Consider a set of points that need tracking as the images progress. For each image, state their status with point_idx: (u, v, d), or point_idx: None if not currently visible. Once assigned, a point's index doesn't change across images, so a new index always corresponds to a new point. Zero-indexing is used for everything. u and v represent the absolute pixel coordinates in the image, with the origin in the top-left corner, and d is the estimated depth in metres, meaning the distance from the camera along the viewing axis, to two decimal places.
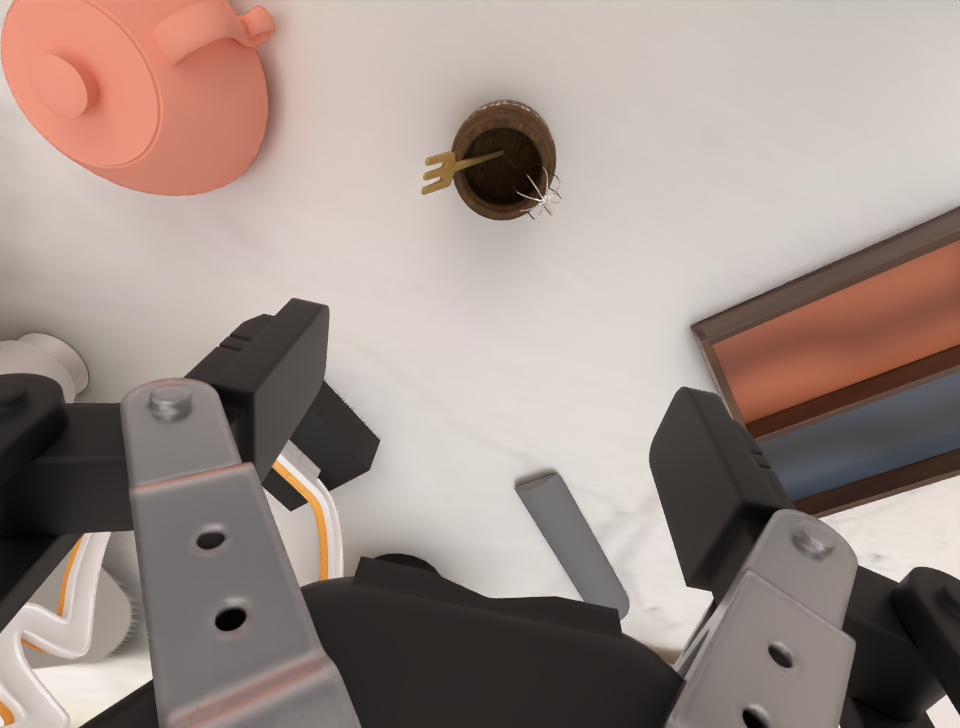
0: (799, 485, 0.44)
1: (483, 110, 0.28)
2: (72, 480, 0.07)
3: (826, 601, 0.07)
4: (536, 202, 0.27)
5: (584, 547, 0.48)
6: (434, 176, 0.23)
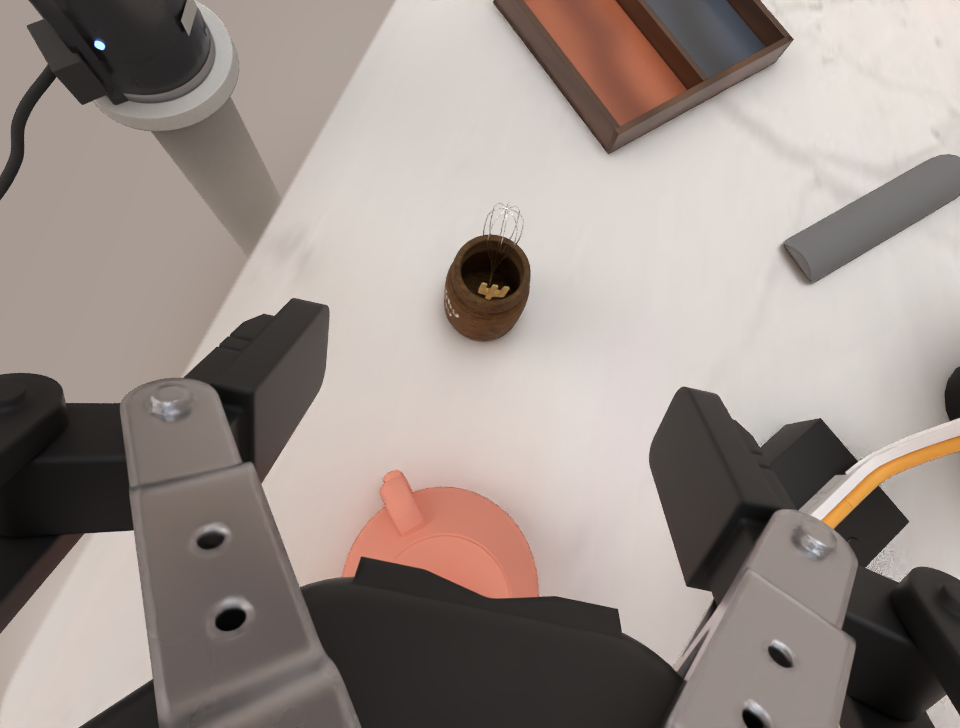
0: (744, 42, 0.48)
1: (450, 298, 0.36)
2: (72, 480, 0.07)
3: (827, 601, 0.07)
4: (513, 243, 0.35)
5: (868, 204, 0.45)
6: None
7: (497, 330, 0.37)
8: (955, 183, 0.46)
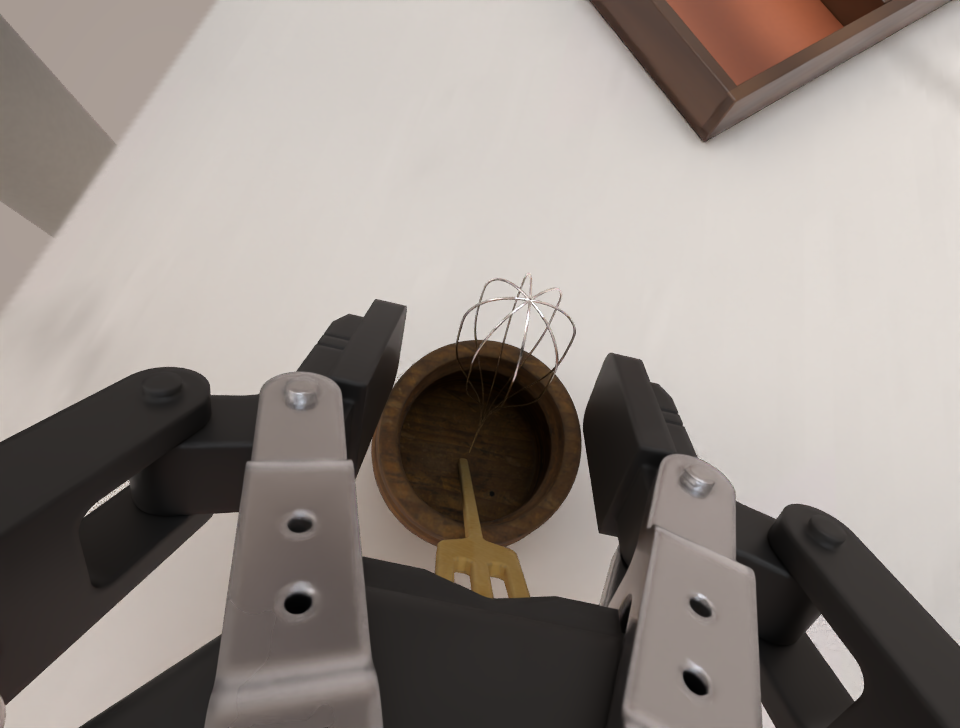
0: None
1: (380, 489, 0.15)
2: (219, 464, 0.08)
3: (720, 535, 0.07)
4: (537, 362, 0.13)
5: None
6: (489, 597, 0.08)
7: None
8: None
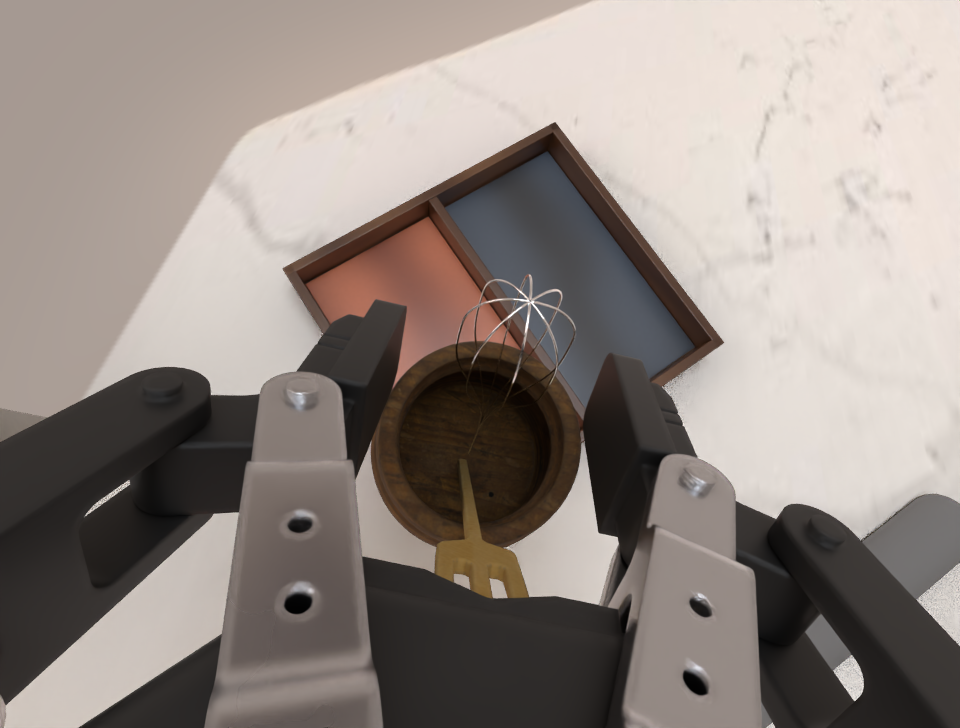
0: (656, 332, 0.34)
1: (379, 489, 0.15)
2: (219, 464, 0.08)
3: (719, 535, 0.07)
4: (537, 363, 0.13)
5: None
6: None
7: None
8: (959, 553, 0.31)
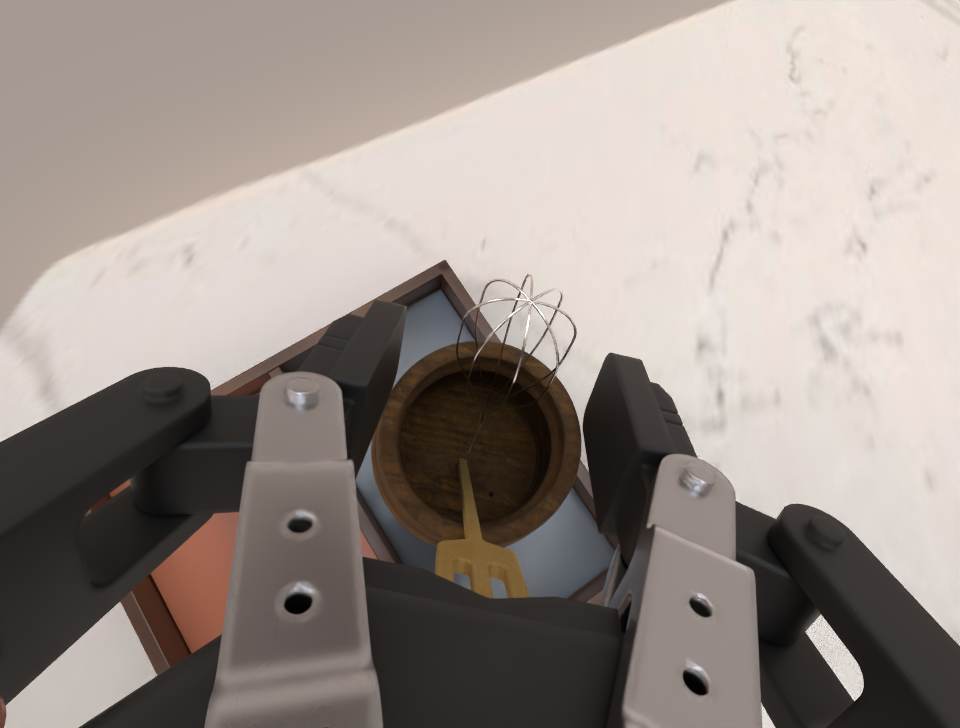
0: (569, 538, 0.26)
1: (379, 489, 0.15)
2: (219, 464, 0.08)
3: (719, 535, 0.07)
4: (537, 363, 0.13)
5: None
6: None
7: None
8: None
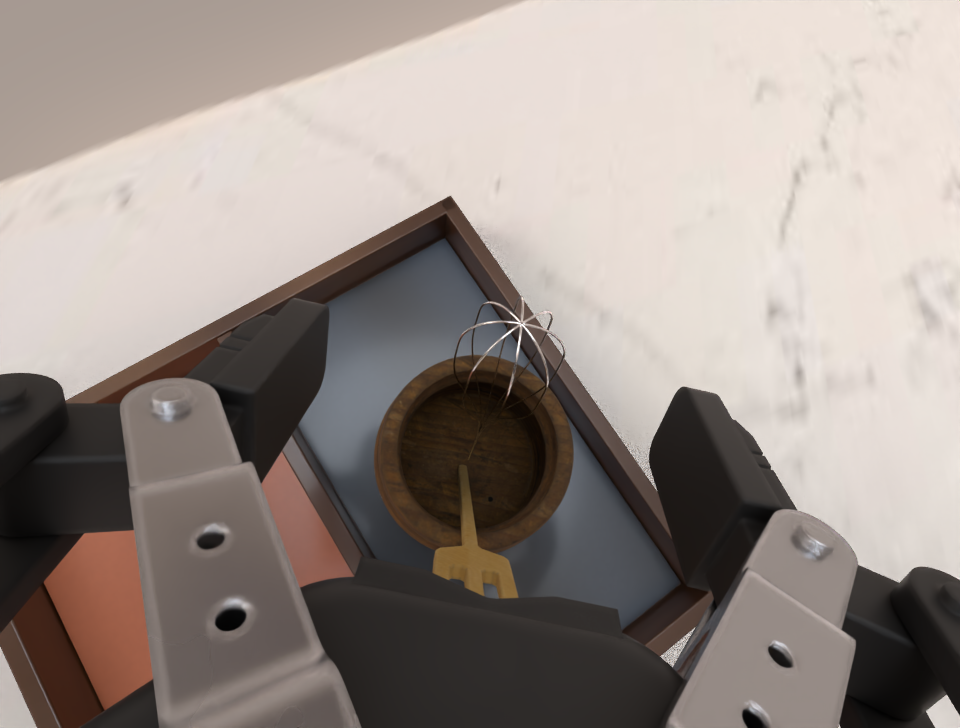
0: (615, 557, 0.20)
1: (382, 496, 0.15)
2: (72, 480, 0.07)
3: (826, 601, 0.07)
4: (532, 376, 0.14)
5: None
6: None
7: None
8: None
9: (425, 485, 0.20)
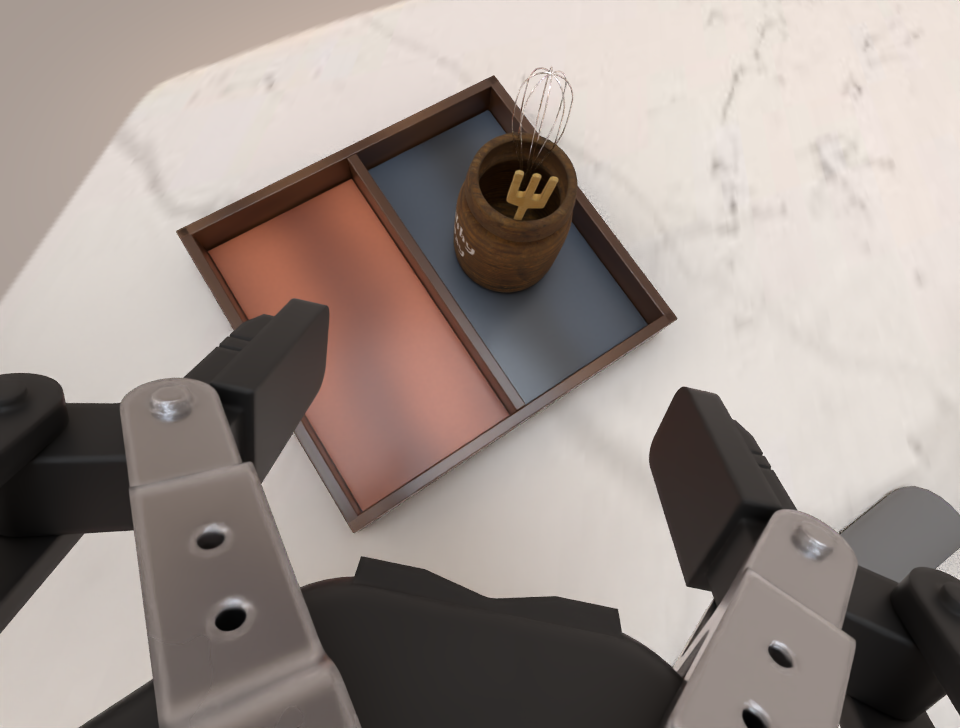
0: (604, 308, 0.30)
1: (463, 226, 0.26)
2: (72, 480, 0.07)
3: (827, 601, 0.07)
4: (553, 143, 0.24)
5: None
6: None
7: (527, 273, 0.27)
8: (940, 553, 0.28)
9: None
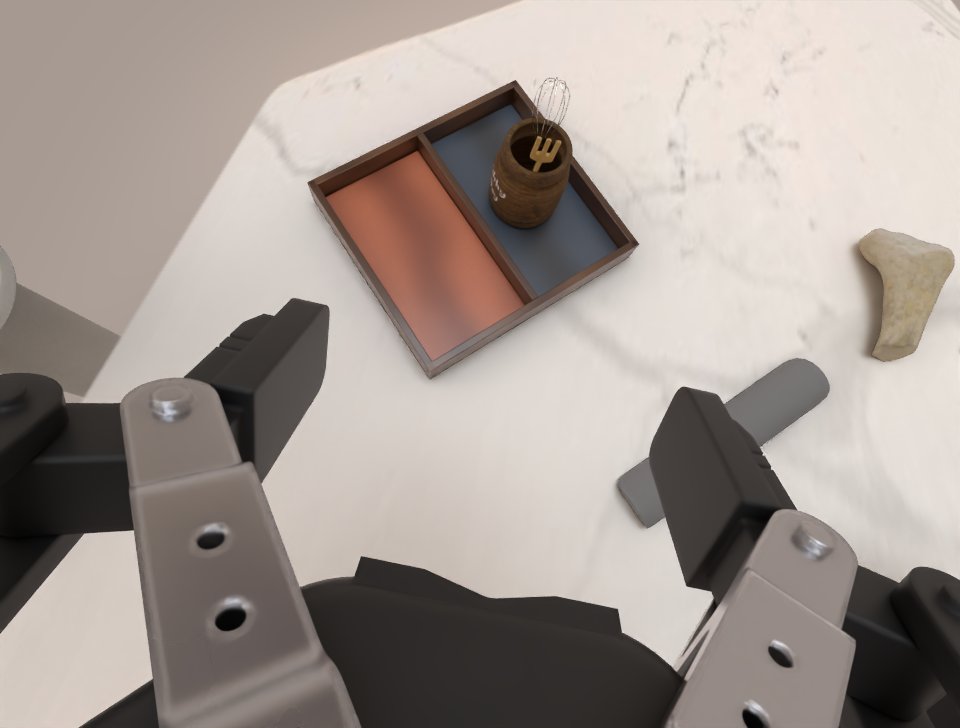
0: (591, 239, 0.44)
1: (499, 178, 0.40)
2: (72, 480, 0.07)
3: (826, 601, 0.07)
4: (557, 125, 0.38)
5: None
6: None
7: (539, 211, 0.41)
8: (809, 397, 0.42)
9: None
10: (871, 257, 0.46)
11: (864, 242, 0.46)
